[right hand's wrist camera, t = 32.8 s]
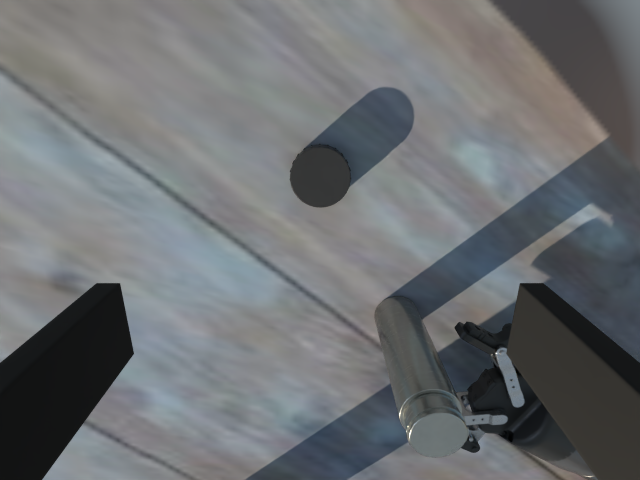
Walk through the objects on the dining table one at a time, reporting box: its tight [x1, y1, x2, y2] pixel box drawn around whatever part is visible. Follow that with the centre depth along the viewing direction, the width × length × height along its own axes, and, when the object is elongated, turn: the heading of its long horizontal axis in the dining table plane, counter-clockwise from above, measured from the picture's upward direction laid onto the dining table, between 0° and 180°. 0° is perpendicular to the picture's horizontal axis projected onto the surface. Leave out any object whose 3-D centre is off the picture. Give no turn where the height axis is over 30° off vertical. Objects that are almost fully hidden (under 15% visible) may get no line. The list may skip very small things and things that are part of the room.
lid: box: [290, 144, 351, 207], centre depth 38 cm, size 6×6×2 cm
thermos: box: [375, 296, 469, 458], centre depth 36 cm, size 5×5×17 cm
